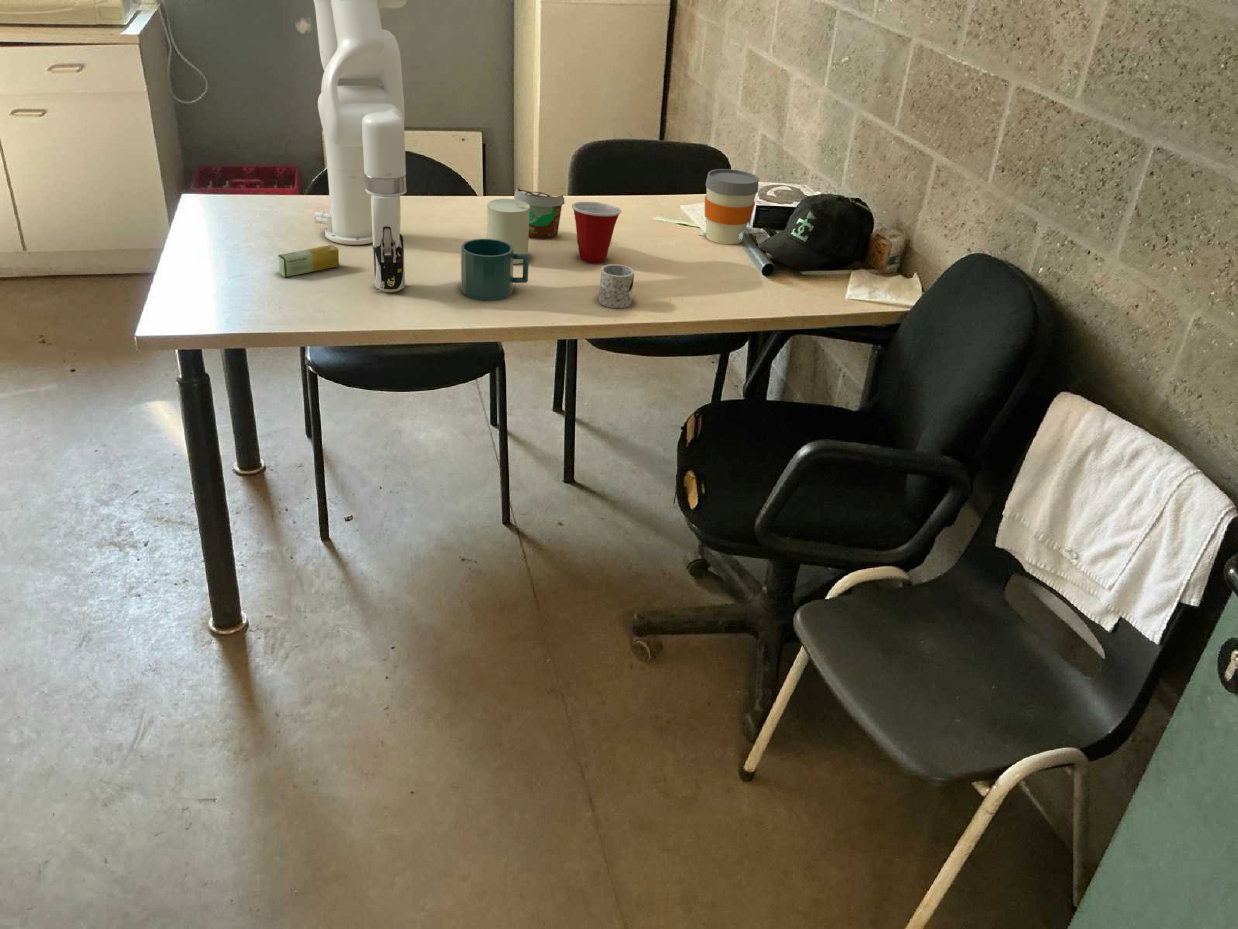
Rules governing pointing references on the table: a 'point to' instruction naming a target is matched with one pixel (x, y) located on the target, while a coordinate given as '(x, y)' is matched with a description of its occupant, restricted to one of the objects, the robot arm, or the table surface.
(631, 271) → the mug
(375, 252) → the beverage can
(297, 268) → the medication box
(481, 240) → the mug
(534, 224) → the food container
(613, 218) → the plastic cup
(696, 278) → the table surface
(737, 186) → the reusable coffee cup
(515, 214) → the can
